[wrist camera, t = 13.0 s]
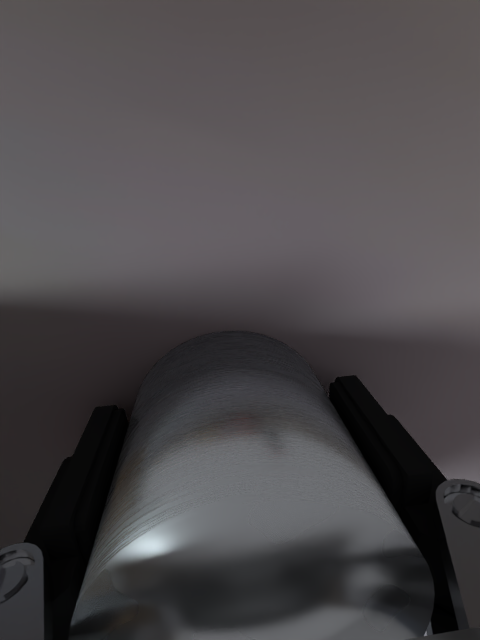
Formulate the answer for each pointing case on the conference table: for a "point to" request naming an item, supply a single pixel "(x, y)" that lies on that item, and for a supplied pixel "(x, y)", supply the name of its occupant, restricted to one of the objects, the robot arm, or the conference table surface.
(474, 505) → the robot arm
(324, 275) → the conference table surface
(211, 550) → the steel weight
